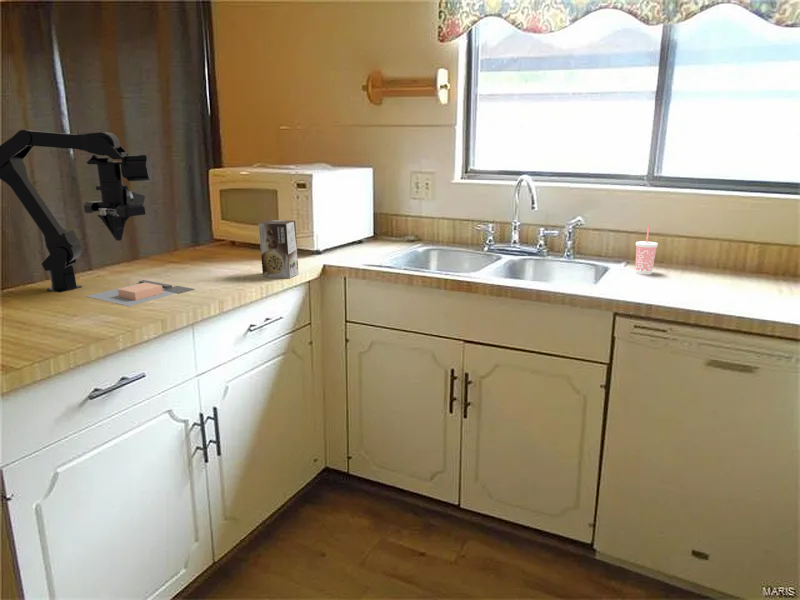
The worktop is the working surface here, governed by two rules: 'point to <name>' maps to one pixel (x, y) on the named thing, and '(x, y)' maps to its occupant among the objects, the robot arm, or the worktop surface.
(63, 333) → the worktop surface
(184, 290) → the turner
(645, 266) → the beverage cup
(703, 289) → the worktop surface
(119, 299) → the mat
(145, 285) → the tile
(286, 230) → the coffee box
